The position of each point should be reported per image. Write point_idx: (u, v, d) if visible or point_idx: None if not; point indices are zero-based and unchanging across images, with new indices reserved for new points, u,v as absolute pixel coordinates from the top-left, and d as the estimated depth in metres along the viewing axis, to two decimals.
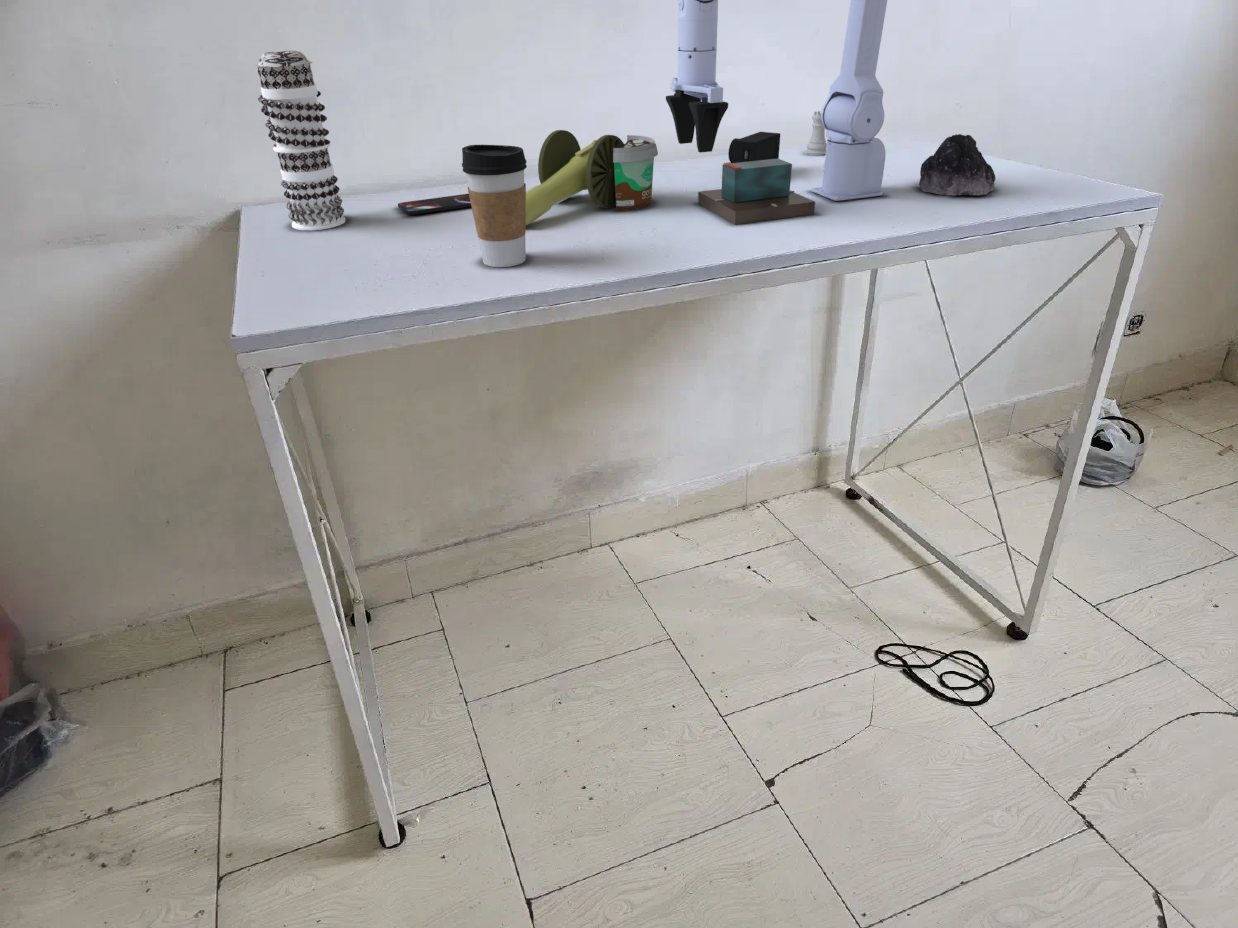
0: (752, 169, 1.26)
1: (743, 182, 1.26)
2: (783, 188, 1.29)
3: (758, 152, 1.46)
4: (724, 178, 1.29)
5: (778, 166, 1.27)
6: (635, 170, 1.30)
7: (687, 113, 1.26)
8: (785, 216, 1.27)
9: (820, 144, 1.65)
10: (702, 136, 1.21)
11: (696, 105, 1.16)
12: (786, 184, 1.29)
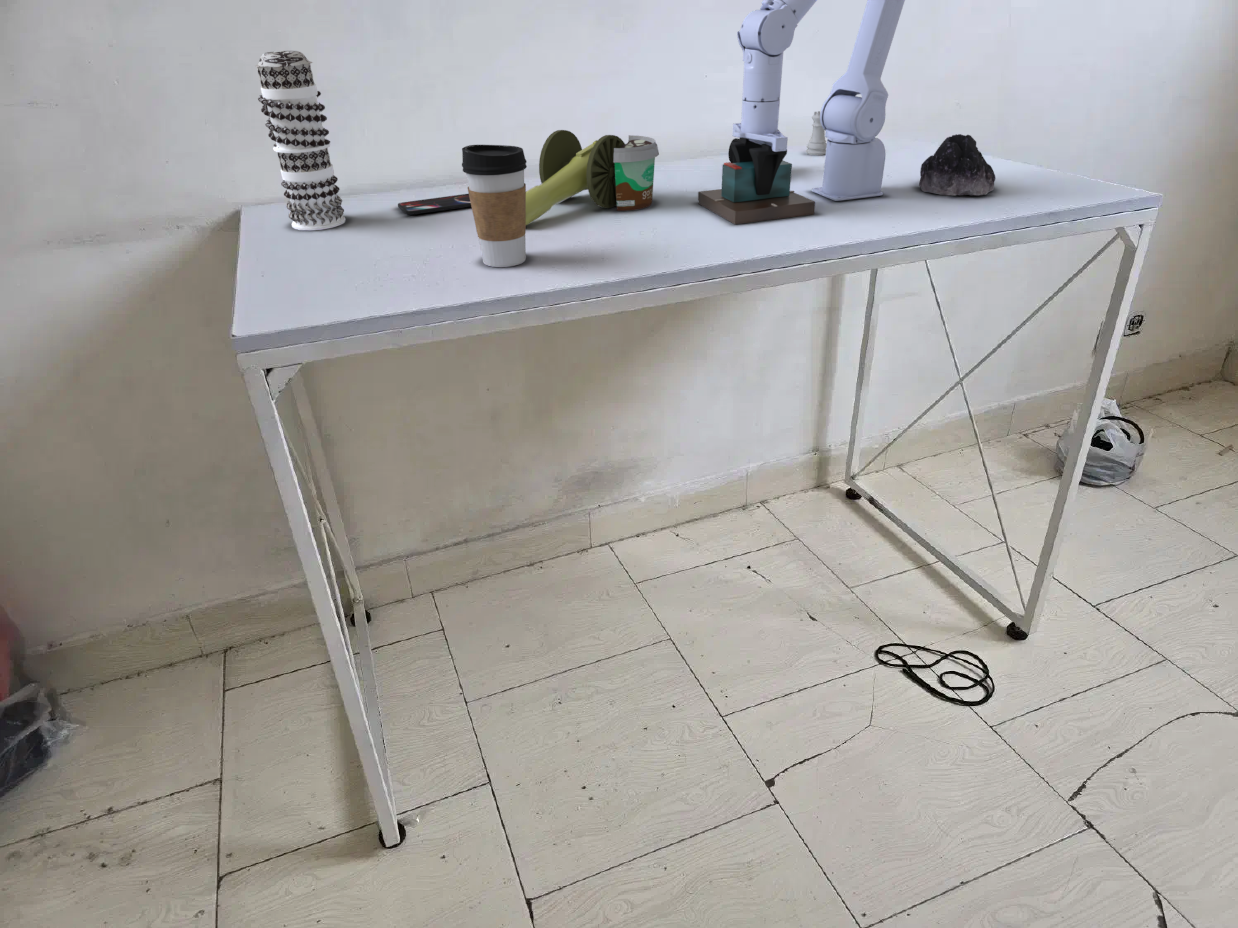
0: (752, 169, 1.26)
1: (743, 182, 1.26)
2: (783, 188, 1.29)
3: None
4: (724, 178, 1.29)
5: None
6: (635, 170, 1.29)
7: (751, 159, 1.30)
8: (785, 216, 1.27)
9: (820, 144, 1.65)
10: (761, 180, 1.26)
11: (757, 152, 1.22)
12: (786, 184, 1.29)
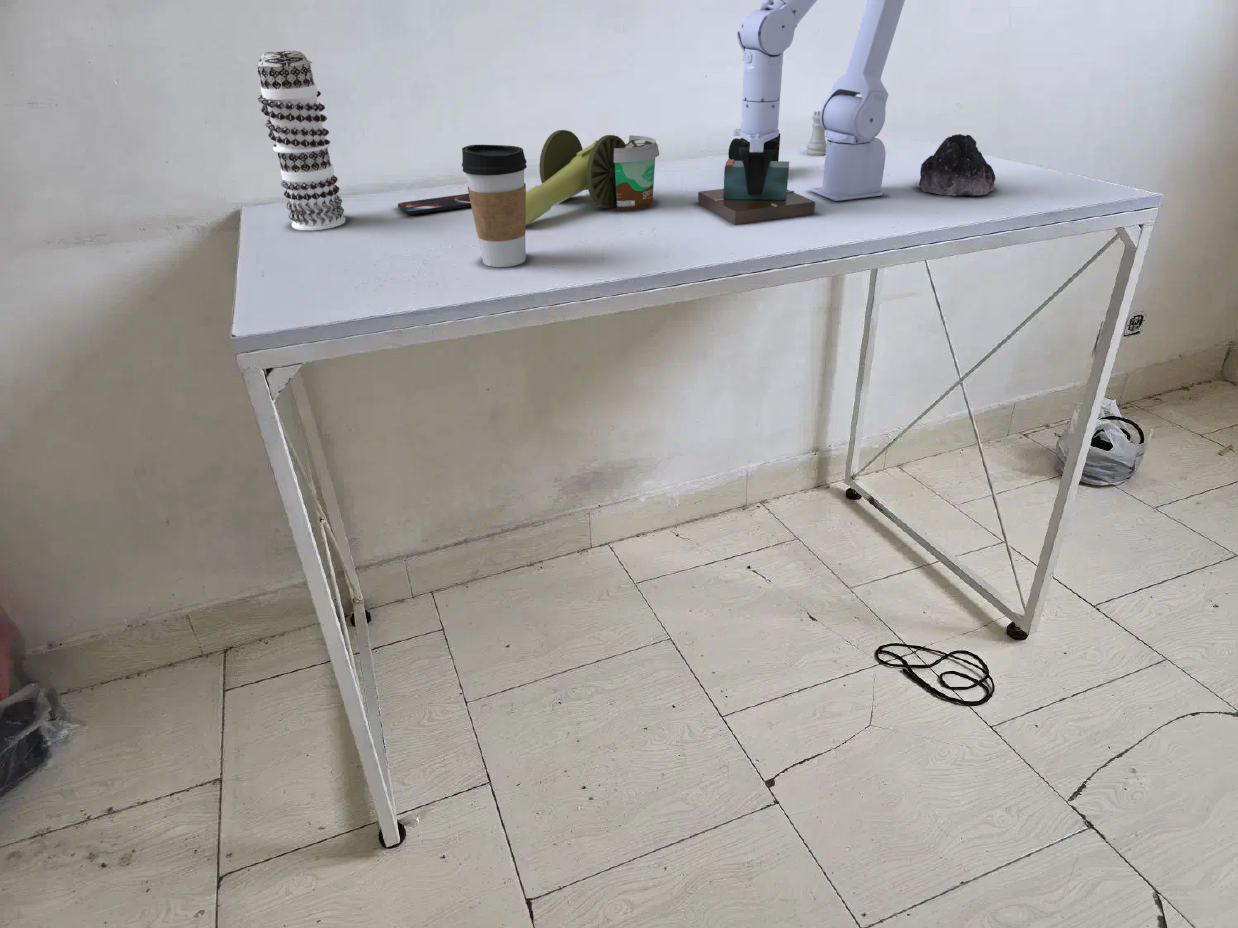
0: (743, 168, 1.27)
1: (733, 180, 1.28)
2: (779, 191, 1.28)
3: None
4: None
5: (773, 168, 1.26)
6: (636, 171, 1.29)
7: None
8: (785, 216, 1.27)
9: (820, 144, 1.65)
10: (750, 180, 1.27)
11: (740, 151, 1.23)
12: (782, 187, 1.27)
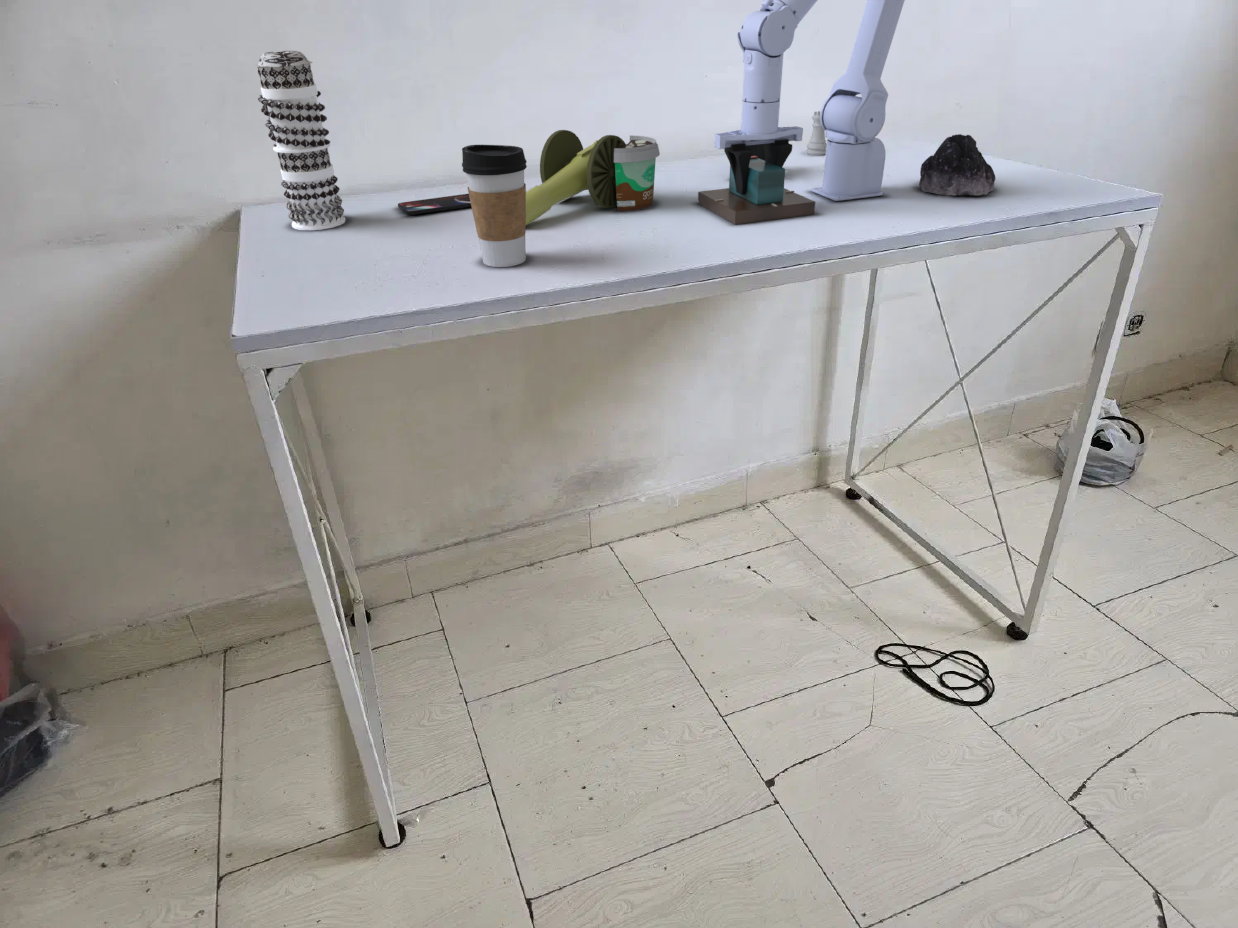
0: None
1: None
2: (754, 194, 1.26)
3: (757, 152, 1.46)
4: None
5: (751, 169, 1.26)
6: (636, 171, 1.29)
7: (771, 161, 1.29)
8: (785, 216, 1.27)
9: (820, 144, 1.65)
10: (736, 177, 1.29)
11: None
12: (755, 191, 1.26)
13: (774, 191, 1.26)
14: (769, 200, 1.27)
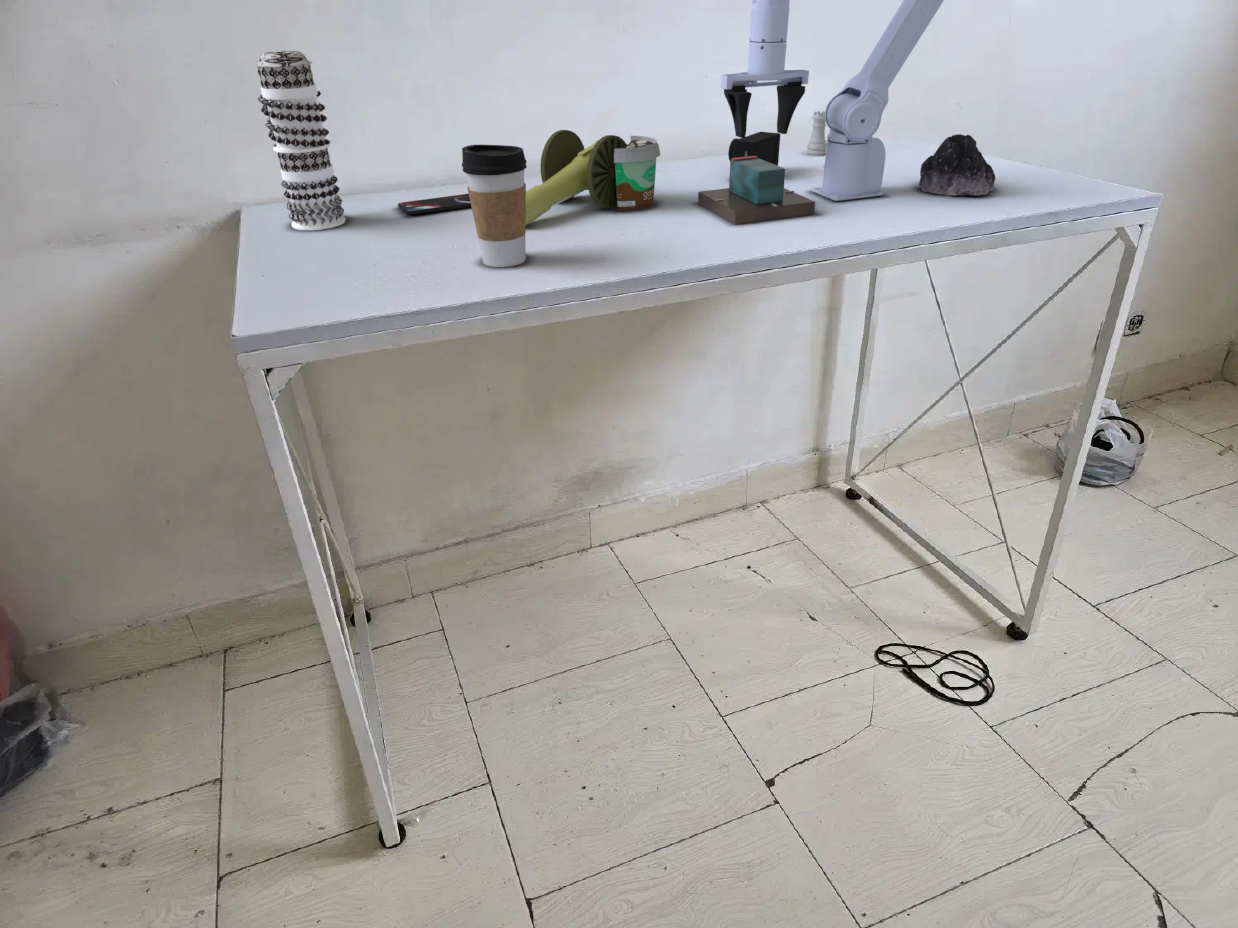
0: (738, 164, 1.29)
1: (733, 174, 1.31)
2: (754, 194, 1.26)
3: (758, 152, 1.46)
4: None
5: (751, 169, 1.26)
6: (636, 171, 1.29)
7: (784, 104, 1.30)
8: (785, 216, 1.27)
9: (820, 144, 1.65)
10: (736, 120, 1.30)
11: (724, 89, 1.28)
12: (755, 191, 1.26)
13: (774, 191, 1.26)
14: (769, 200, 1.27)
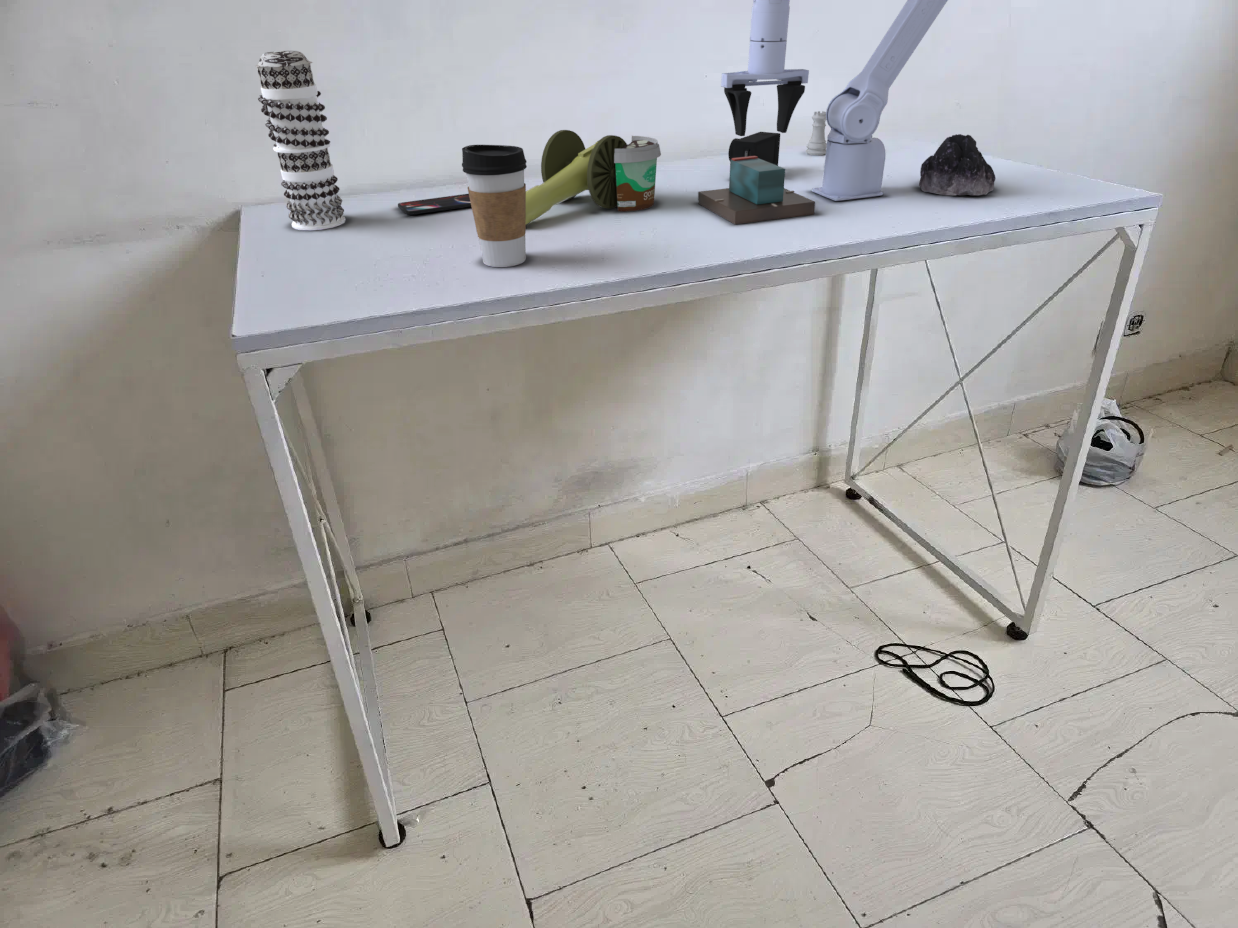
0: (738, 164, 1.29)
1: (733, 174, 1.31)
2: (754, 194, 1.26)
3: (758, 152, 1.46)
4: None
5: (751, 169, 1.26)
6: (636, 171, 1.29)
7: (784, 103, 1.31)
8: (785, 216, 1.27)
9: (820, 144, 1.65)
10: (736, 119, 1.30)
11: (724, 87, 1.29)
12: (755, 191, 1.26)
13: (774, 191, 1.26)
14: (769, 200, 1.27)
